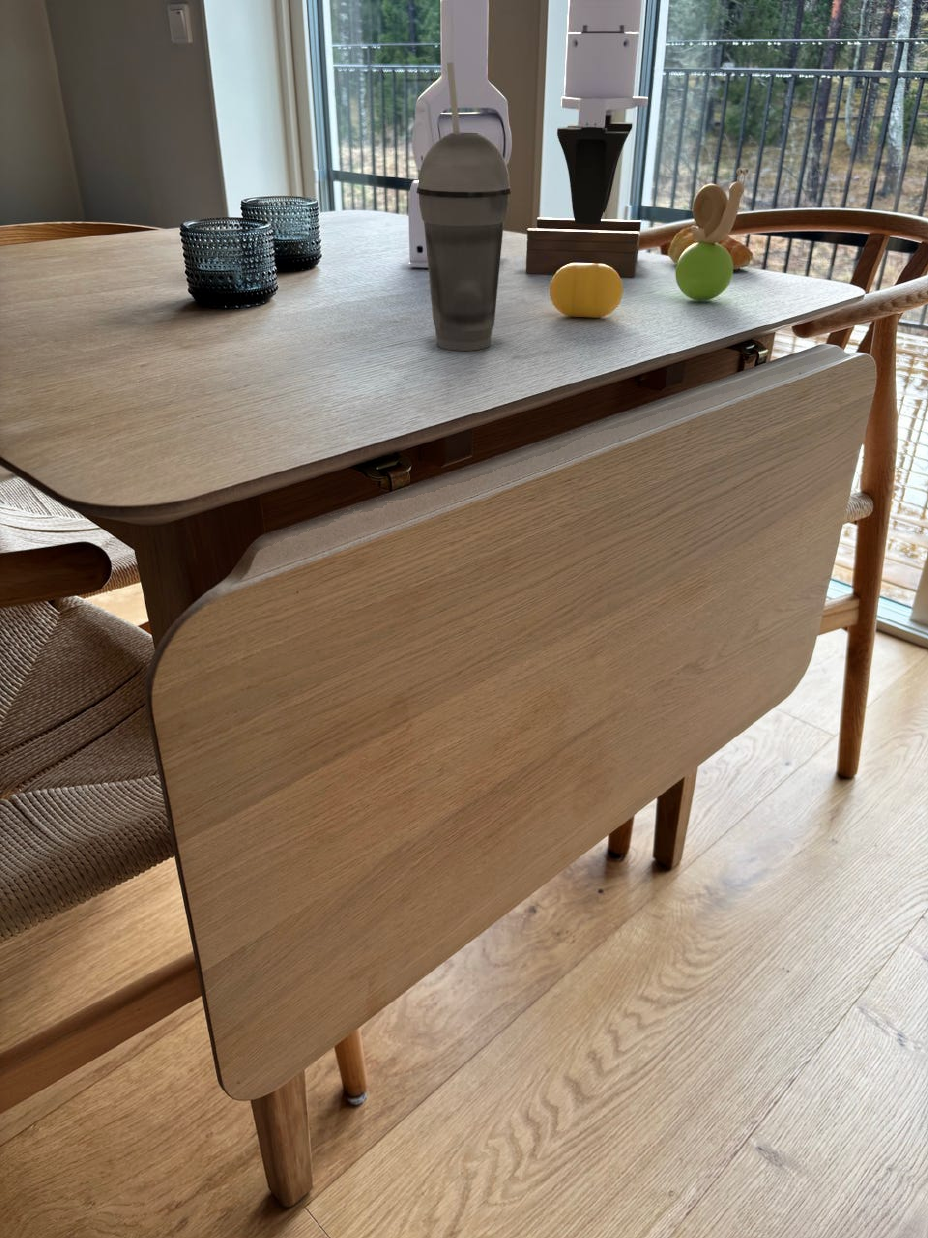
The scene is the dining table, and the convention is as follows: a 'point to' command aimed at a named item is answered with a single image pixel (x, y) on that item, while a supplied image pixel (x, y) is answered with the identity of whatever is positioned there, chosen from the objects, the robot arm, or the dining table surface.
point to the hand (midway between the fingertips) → (590, 217)
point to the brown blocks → (582, 245)
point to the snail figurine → (710, 242)
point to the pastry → (736, 249)
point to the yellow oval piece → (586, 290)
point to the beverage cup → (463, 231)
